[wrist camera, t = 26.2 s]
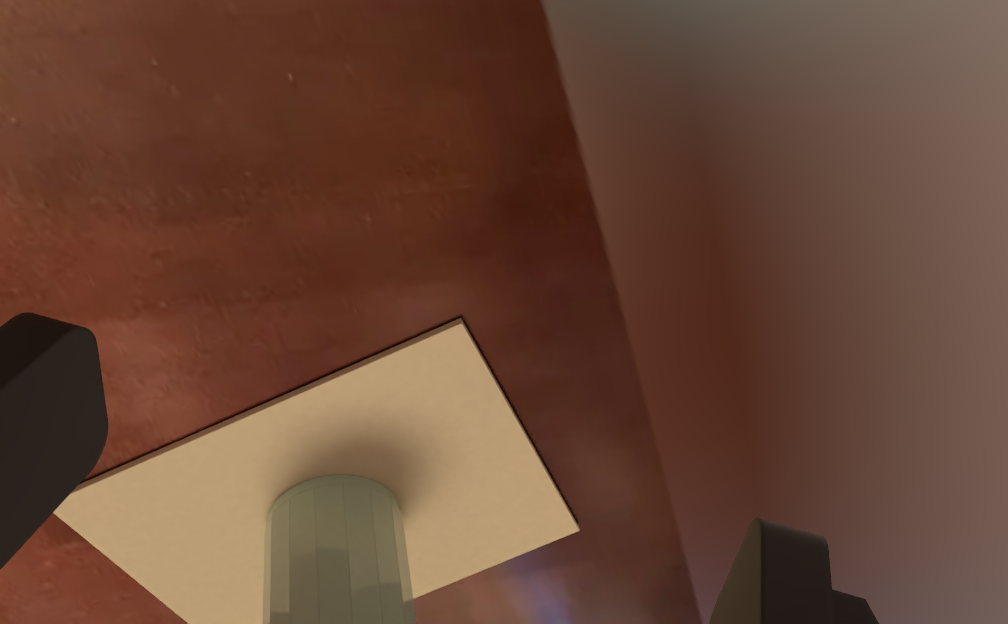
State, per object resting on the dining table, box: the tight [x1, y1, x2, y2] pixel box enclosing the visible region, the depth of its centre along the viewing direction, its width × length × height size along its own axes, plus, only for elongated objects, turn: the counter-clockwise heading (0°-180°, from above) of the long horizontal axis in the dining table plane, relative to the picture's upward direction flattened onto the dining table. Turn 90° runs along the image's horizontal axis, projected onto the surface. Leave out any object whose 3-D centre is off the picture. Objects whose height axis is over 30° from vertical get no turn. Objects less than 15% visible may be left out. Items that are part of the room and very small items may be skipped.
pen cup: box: [263, 475, 417, 624], centre depth 39 cm, size 6×6×11 cm
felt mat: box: [53, 318, 580, 624], centre depth 43 cm, size 20×16×1 cm
